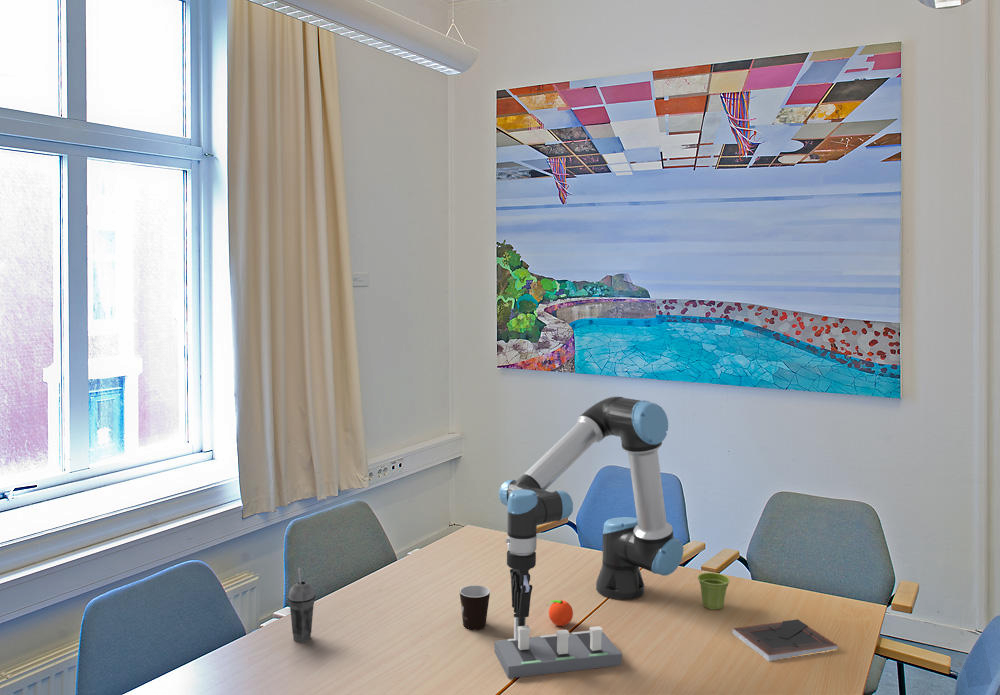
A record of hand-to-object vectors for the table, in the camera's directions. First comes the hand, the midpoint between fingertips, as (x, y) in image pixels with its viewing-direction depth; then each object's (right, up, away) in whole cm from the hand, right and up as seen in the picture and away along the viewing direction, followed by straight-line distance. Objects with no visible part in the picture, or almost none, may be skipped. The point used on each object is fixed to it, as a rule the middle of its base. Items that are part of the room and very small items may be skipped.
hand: (519, 638), depth 202 cm
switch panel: (+10, -5, -1) cm, 11 cm away
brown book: (+73, -6, +11) cm, 74 cm away
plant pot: (+60, -3, +34) cm, 69 cm away
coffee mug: (-12, -3, +19) cm, 23 cm away
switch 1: (+1, -1, -3) cm, 3 cm away
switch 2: (+19, -2, -3) cm, 20 cm away
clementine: (+12, -3, +19) cm, 23 cm away
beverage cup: (-59, -3, +8) cm, 59 cm away
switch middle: (+11, -2, -5) cm, 12 cm away
